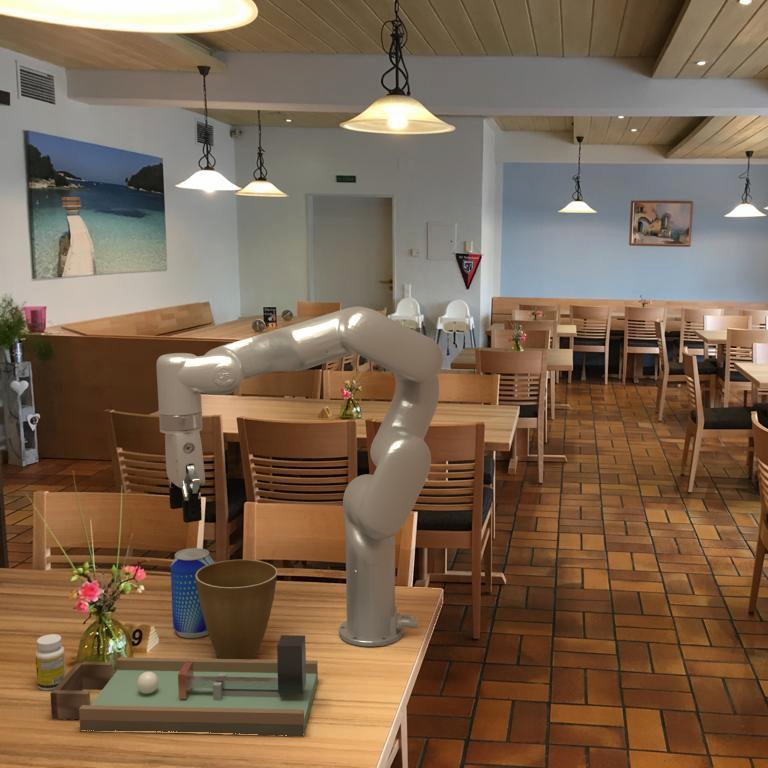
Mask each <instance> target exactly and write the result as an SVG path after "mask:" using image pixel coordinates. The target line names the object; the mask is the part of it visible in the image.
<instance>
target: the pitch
mask: <svg viewBox="0 0 768 768" xmlns="http://www.w3.org/2000/svg"><path fill="white" fill-rule="evenodd" d="M186 661H193V672H194V676H214V677H268V678H278V666H277V659H251V660H249V659H219V658H191V657H190V658H187V657H186V658H185V657H177V658H175V657H174V658H173V657H128V656H125V657H124V656H121V657H120V656H119V657H118V658H117V660H116V666H117V667H116V671H115V672H114V673H113V677H112V678H111V679H110V681H109V682H108V683H107V684H106V686H105V687H104V688H103V690H102V689H101V691H100V693H99V694H98V695H97V696H96V698H95V699H94V700H93V702H91V703H90V705H82V706H81V707H80V708H79V717H80V720H79V728H80V729H79V731H80V730H86V731H87V730H88V731H89V730H90V731H91V730H92V731H93V730H94V731H115V730H116V731H156V732H157V731H161V732H162V731H163V732H168V731H170V732H171V731H172V732H173V731H174V732H176V731H177V732H209V733H210V732H211V733H233V734H235V733H236V734H239V733H240V734H258V735H275V736H274V737H279V736H278V735H283V736H282V737H295V736H303V737H304V735H303V734H305V732H304V731H306V728H305V727H307V724H308V721H309V716H310V713H311V712H310V711H311V709H312V704H313V701H314V696H315V693H316V689H317V685H318V682H319V675H318V671H319V670H318V660H306V685H305V688H304V692H303V694H278V690H261V689H222V682H214V684H213V689H209V688H192V689H191V691H190V693H189V695H188V697H187V698H186V699H179V689H178V673H179V672H180V670H181V668H182V667H183V665H184V663H185V662H186ZM144 672H153V673H155V674H156V675H157V676H158V679H159V685H158V687H157V689H156V690H155V691H154V692H152V693H150V694H144V693H142V692H140V691H139V689H138V687H137V680H138V678H139V676H140V675H141V674H143V673H144ZM285 735H287V736H285Z"/></svg>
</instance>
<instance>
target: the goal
mask: <svg viewBox="0 0 768 768" xmlns="http://www.w3.org/2000/svg"><path fill="white" fill-rule="evenodd" d="M113 670H114V669H113V661H77V662H76V663H75V664H74V665H73V666H72V667H71V669H70V670H69V671H68V673H66V676H65V677H64V678H63V679H62V681H61V682H60V683H59V684H58V685H57V686H56V687H55V689H54V690H51V692H50V711H51V720H52V719H79V720H78V721H80V717H79V708H80V707H81V706H82V705H91V691H90V690H101V691H102V690H103V688H104V687H105V686H106V684H107V683H108V682H109V681H110V679H111V678H112V677H113V675H114V671H113Z"/></svg>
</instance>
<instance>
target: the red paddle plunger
mask: <svg viewBox="0 0 768 768" xmlns="http://www.w3.org/2000/svg"><path fill="white" fill-rule="evenodd" d="M306 656H307V655H306V635H297V634H296V635H293V634H290V635H288V634H287V635H286V634H280V637H279V639H278V642H277V645H276V660H277V666H278V678H268V677H214V676H194V672H193V661H186V662H185V663H184V665H183V667H182V668H181V670H180V672H179V673H178V689H179V699H186V698H187V697H188V695H189V693H190V691H191V689H192V688H209V689H213V684H214V682H222V689H261V690H278V694H303V692H304V688H305V685H306V661H307V659H306Z"/></svg>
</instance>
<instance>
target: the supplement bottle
mask: <svg viewBox="0 0 768 768" xmlns="http://www.w3.org/2000/svg"><path fill="white" fill-rule="evenodd" d="M62 641H63V640H62V635H59V634H56V633H55V634H54V633H53V634H46V635H45V634H44V635H42V636H40V637H38V638H37V639H36V648H37V650H36V651H35V656H34V657H35V666H36V667H35V669H36V679H37V680H36V683H37V687H38V689H39V690H41V691H53V690H54V689H55V687H56V686H57V685H58V684H59V683H60V682H61V681H62V679H63V678H64V677H65V676H66V675H67V671H66V669H67V668H66V655H65V654H66V653H65V647H64V646H63V643H62Z"/></svg>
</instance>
